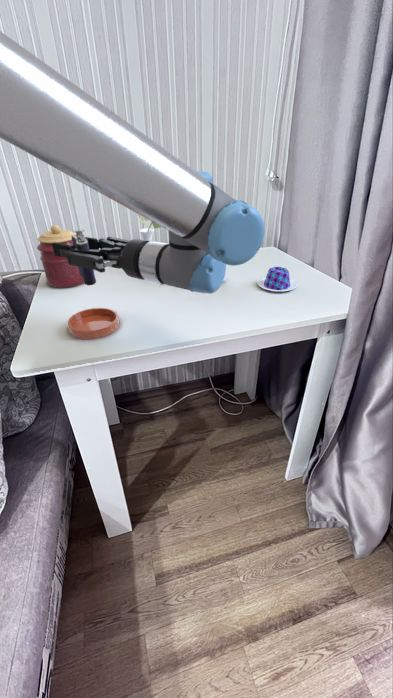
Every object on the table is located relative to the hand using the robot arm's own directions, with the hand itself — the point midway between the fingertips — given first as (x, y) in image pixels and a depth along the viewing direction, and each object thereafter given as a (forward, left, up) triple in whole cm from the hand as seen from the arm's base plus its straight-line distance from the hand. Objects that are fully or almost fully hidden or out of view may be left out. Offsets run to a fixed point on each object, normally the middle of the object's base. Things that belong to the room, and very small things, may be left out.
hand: (66, 245), depth 73 cm
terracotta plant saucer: (-1, -5, -20) cm, 20 cm away
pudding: (+45, -37, -20) cm, 61 cm away
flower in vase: (+37, +5, -20) cm, 42 cm away
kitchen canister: (+17, +25, -20) cm, 36 cm away
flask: (0, -5, -7) cm, 9 cm away
